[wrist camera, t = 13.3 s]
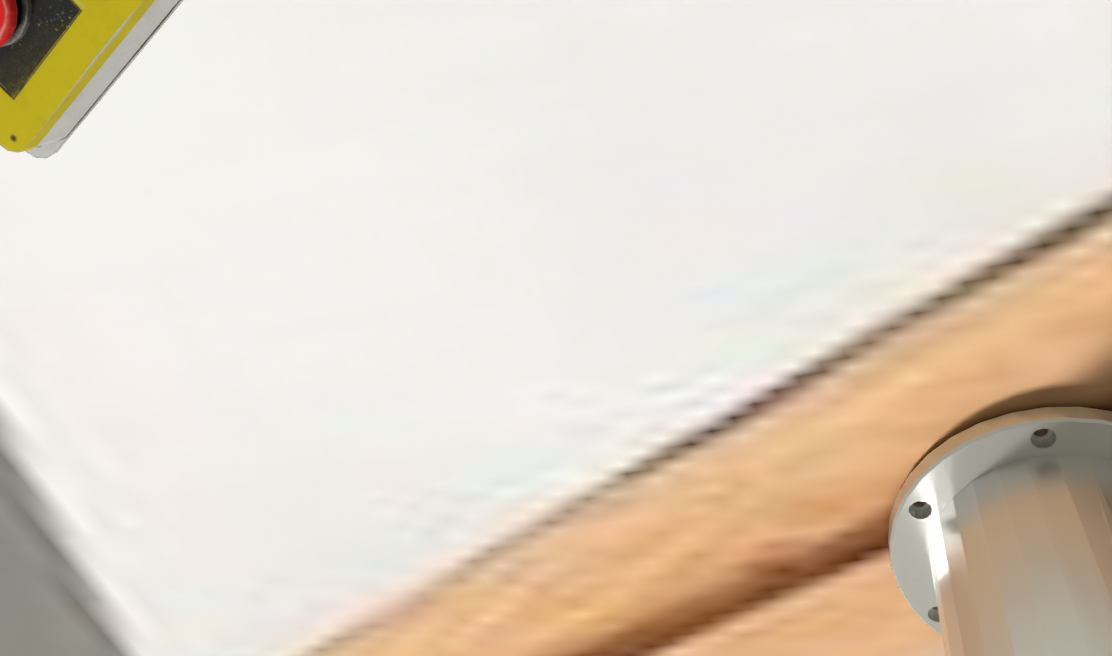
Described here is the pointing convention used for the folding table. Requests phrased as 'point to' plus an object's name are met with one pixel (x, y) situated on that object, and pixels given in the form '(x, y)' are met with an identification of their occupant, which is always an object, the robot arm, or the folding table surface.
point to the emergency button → (65, 63)
